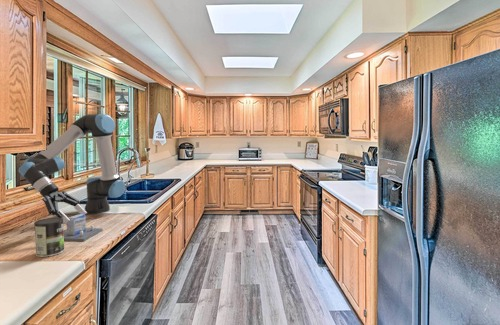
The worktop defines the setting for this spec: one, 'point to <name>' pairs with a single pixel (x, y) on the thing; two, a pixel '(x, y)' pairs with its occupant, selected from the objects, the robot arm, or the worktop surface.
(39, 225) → the coffee can
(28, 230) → the worktop surface
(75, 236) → the pin tray
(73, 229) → the medicine box
